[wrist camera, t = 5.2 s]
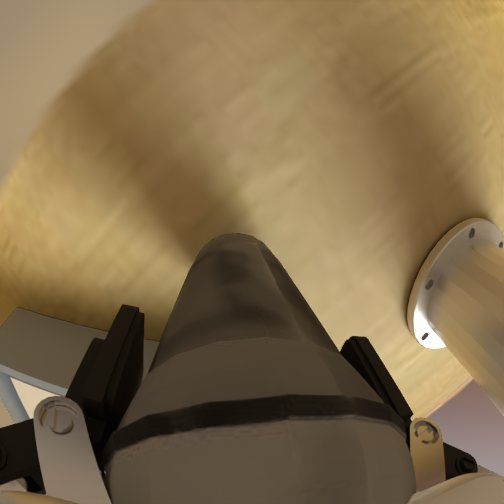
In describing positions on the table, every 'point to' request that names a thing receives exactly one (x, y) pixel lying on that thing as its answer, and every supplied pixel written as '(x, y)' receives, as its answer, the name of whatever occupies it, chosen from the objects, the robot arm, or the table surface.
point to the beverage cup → (253, 401)
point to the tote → (45, 355)
